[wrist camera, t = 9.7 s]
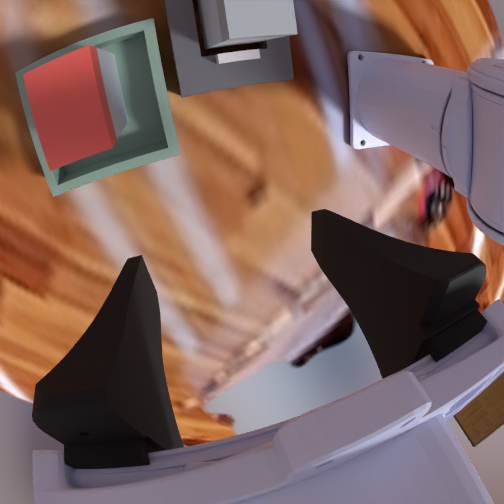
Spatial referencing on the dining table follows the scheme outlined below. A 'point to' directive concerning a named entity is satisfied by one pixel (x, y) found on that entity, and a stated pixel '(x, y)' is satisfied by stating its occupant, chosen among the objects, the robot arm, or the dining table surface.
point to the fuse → (245, 21)
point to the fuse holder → (221, 57)
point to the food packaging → (483, 413)
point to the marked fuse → (76, 105)
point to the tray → (136, 102)
